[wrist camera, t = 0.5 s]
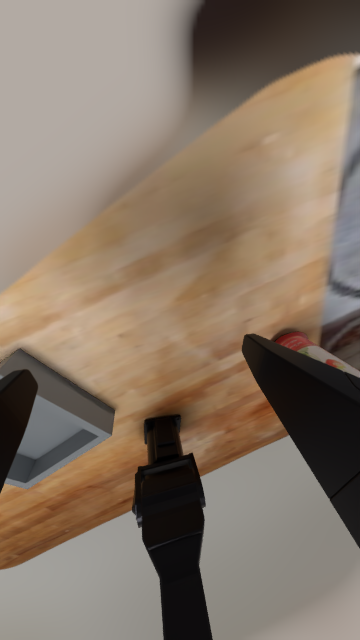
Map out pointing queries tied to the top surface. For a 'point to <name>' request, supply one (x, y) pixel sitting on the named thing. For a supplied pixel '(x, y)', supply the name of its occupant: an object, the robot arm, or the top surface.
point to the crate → (55, 423)
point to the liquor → (314, 351)
